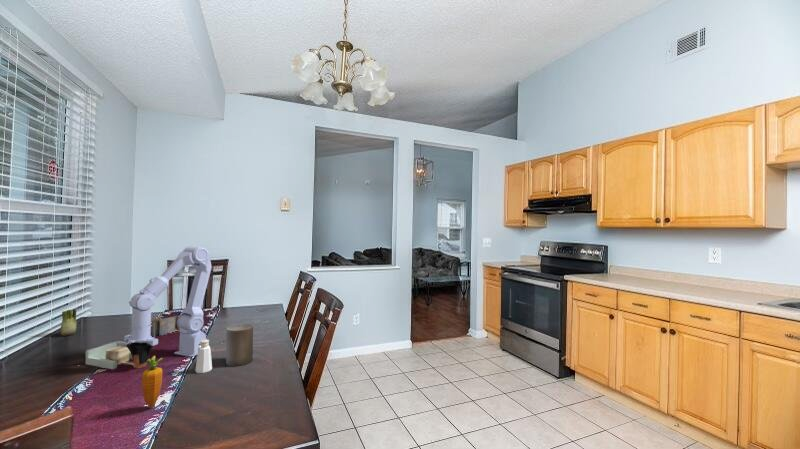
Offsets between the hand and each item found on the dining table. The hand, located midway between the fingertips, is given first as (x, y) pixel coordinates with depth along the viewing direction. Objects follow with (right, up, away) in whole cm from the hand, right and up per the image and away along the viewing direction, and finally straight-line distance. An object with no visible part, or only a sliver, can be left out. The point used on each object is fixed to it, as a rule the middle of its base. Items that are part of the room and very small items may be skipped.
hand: (140, 362), depth 126 cm
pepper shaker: (+25, -2, -2) cm, 25 cm away
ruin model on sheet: (-17, -2, +38) cm, 42 cm away
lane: (-12, -1, +4) cm, 13 cm away
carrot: (+25, -2, -28) cm, 37 cm away
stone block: (-23, -2, +12) cm, 26 cm away
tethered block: (-6, -2, +2) cm, 7 cm away
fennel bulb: (-59, -1, +32) cm, 67 cm away
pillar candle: (+34, -3, +7) cm, 35 cm away
